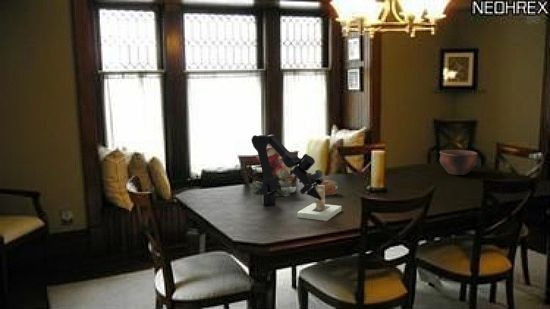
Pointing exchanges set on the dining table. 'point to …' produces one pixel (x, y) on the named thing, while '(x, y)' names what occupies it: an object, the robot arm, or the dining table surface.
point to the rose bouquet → (276, 173)
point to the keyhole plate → (324, 215)
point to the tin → (330, 187)
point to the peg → (321, 203)
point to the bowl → (458, 161)
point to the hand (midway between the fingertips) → (322, 198)
